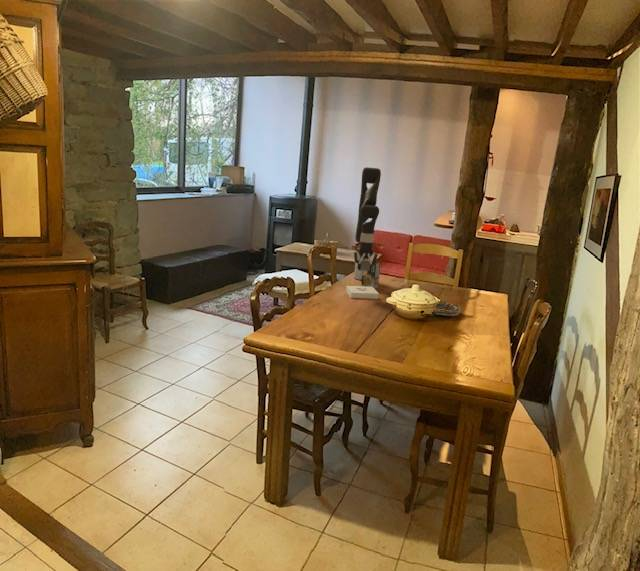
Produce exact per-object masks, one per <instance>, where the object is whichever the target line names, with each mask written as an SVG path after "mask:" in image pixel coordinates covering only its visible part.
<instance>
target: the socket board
mask: <svg viewBox="0 0 640 571" xmlns="http://www.w3.org/2000/svg"><path fill="white" fill-rule="evenodd" d="M345 292H346V293H347V294H348V296H349V298H350V299H370V300H371V299H373V300H376V299H377V300H379V296H380V293H379V292H378V291H377V290H376V288H375V289H374V288H373V287H367V286H361V285H346V286H345Z"/></svg>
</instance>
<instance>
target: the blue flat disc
mask: <svg viewBox="0 0 640 571" xmlns="http://www.w3.org/2000/svg"><path fill="white" fill-rule="evenodd" d="M461 312H462V308H461V307H460V306H458V305H457V304H454V303H451V302H448V301H444V300H440V302H439V304H437V305H436V307H435V308H434V310H433V312H432V314H431V315H430V316H432V317H442V318H455V317H458V316H459V314H460V313H461Z"/></svg>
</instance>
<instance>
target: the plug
mask: <svg viewBox="0 0 640 571" xmlns="http://www.w3.org/2000/svg"><path fill="white" fill-rule="evenodd" d="M360 264H361V266H360V271H359V274H361V272H362V270H364V273H363V275H365V274H367V271H370V263H369V262H368V261H367V260H362V261H361V263H360Z"/></svg>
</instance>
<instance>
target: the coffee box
mask: <svg viewBox="0 0 640 571" xmlns="http://www.w3.org/2000/svg"><path fill="white" fill-rule="evenodd" d="M367 261H368V260H367ZM368 262H369V261H368ZM380 270H381V261H376V262H375V263H374V264H372V267H371V270H370V271H367V274H365V275H363V273H364V270H363V273H362V280H361V285H360V286H367V287H373V288H374V289H375V290H376V289H378V288H379V280H380Z"/></svg>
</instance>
